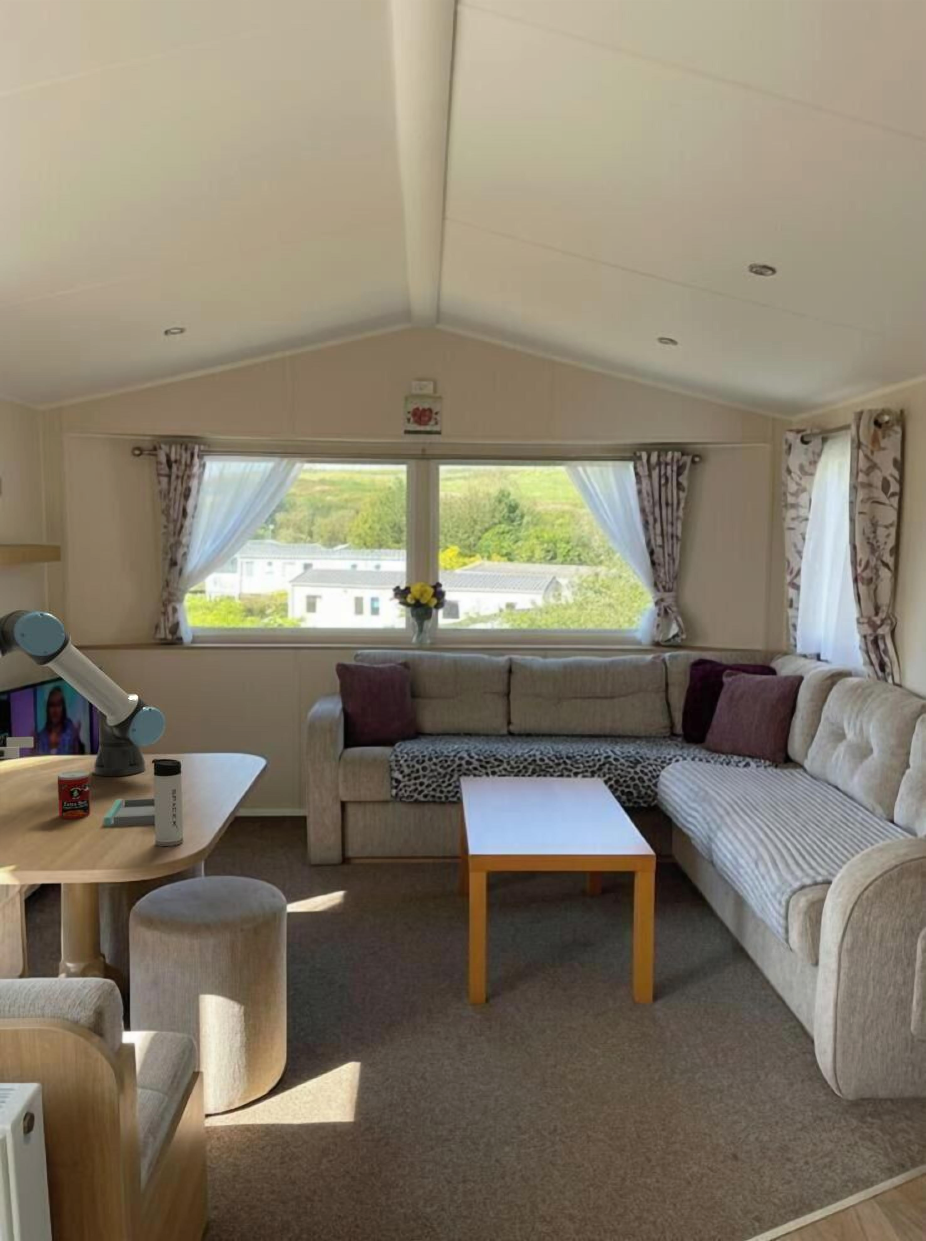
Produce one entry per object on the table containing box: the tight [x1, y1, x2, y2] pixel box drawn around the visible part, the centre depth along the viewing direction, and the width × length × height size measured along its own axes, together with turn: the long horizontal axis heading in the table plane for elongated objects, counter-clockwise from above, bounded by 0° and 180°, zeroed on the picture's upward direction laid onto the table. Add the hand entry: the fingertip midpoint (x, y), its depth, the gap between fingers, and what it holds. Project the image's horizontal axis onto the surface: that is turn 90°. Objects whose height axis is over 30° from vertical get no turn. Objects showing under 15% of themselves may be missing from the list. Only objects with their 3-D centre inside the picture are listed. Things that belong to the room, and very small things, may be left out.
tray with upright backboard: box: [103, 797, 155, 827], centre depth 250 cm, size 18×15×10 cm
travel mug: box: [151, 758, 184, 847], centre depth 226 cm, size 6×7×20 cm
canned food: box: [57, 770, 91, 820], centre depth 250 cm, size 8×8×11 cm
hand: (26, 747), depth 248 cm, fingers open, 13 cm apart
